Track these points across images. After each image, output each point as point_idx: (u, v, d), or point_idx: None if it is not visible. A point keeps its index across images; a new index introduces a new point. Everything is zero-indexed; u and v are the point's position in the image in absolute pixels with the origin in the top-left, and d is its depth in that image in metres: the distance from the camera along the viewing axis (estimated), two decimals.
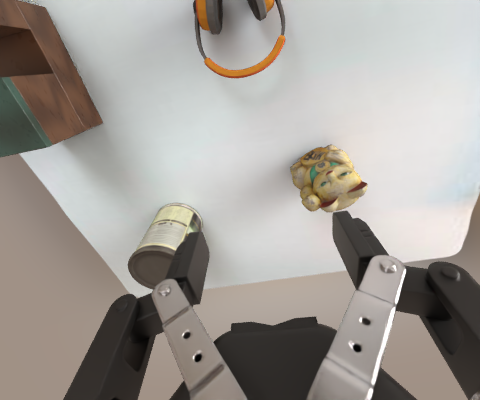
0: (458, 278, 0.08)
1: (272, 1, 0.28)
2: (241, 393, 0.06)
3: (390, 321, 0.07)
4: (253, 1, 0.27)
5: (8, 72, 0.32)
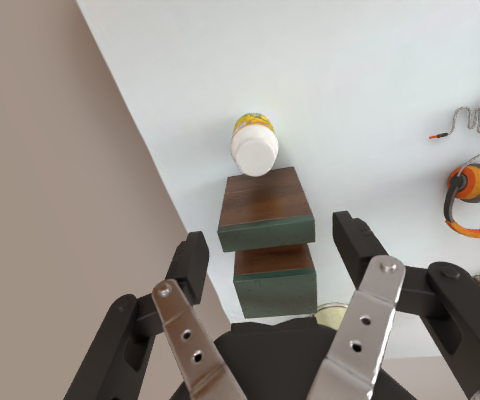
0: (458, 278, 0.08)
1: None
2: (241, 393, 0.06)
3: (390, 321, 0.07)
4: None
5: None
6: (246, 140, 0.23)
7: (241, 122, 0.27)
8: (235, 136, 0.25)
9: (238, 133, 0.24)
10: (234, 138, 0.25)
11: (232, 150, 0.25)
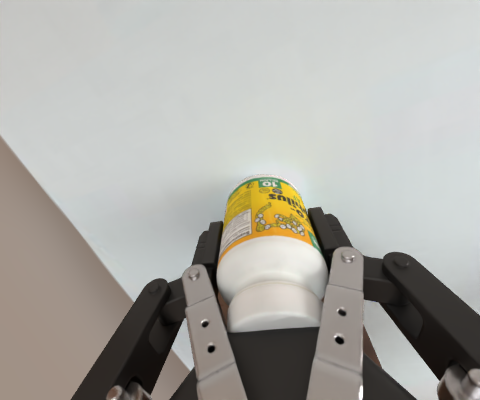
0: (408, 266, 0.09)
1: None
2: (241, 393, 0.06)
3: (362, 307, 0.07)
4: None
5: None
6: (255, 303, 0.08)
7: (241, 208, 0.12)
8: (226, 262, 0.10)
9: (233, 258, 0.10)
10: (224, 266, 0.10)
11: (220, 288, 0.11)
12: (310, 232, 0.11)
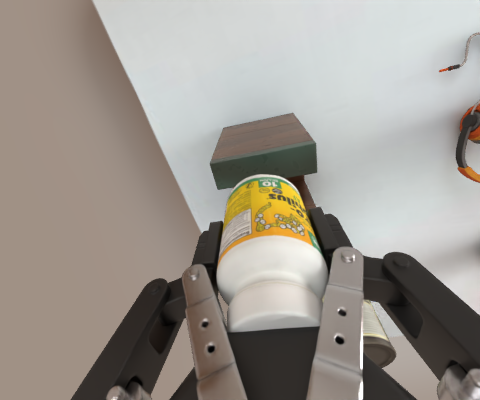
0: (408, 266, 0.09)
1: None
2: (241, 393, 0.06)
3: (362, 307, 0.07)
4: None
5: None
6: (255, 303, 0.08)
7: (241, 208, 0.12)
8: (226, 262, 0.10)
9: (233, 258, 0.10)
10: (224, 266, 0.10)
11: (220, 288, 0.11)
12: (310, 232, 0.11)
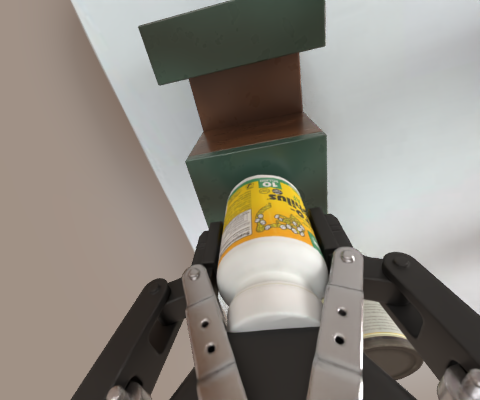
0: (408, 266, 0.09)
1: None
2: (241, 393, 0.06)
3: (362, 307, 0.07)
4: None
5: (234, 109, 0.22)
6: (255, 304, 0.08)
7: (241, 208, 0.12)
8: (226, 262, 0.10)
9: (233, 258, 0.10)
10: (224, 267, 0.10)
11: (220, 289, 0.11)
12: (310, 232, 0.11)
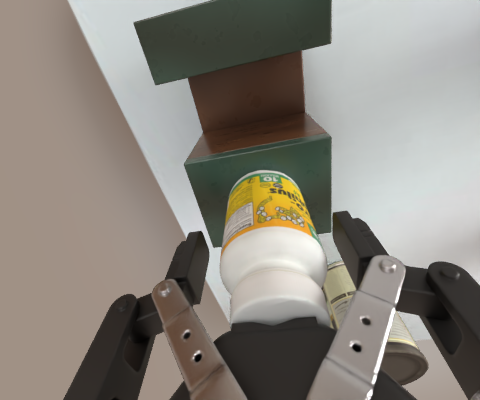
0: (458, 278, 0.08)
1: None
2: (241, 393, 0.06)
3: (390, 321, 0.07)
4: None
5: (235, 110, 0.21)
6: (257, 289, 0.09)
7: (243, 202, 0.13)
8: (229, 252, 0.11)
9: (236, 248, 0.10)
10: (227, 256, 0.11)
11: (223, 278, 0.11)
12: (309, 224, 0.12)
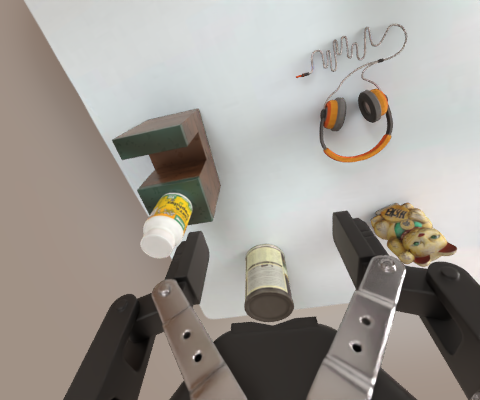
0: (458, 278, 0.08)
1: None
2: (241, 393, 0.06)
3: (390, 321, 0.07)
4: (373, 115, 0.36)
5: (170, 158, 0.41)
6: (147, 233, 0.28)
7: (156, 207, 0.32)
8: (144, 224, 0.30)
9: (146, 223, 0.30)
10: (144, 226, 0.30)
11: (144, 234, 0.31)
12: (177, 215, 0.31)
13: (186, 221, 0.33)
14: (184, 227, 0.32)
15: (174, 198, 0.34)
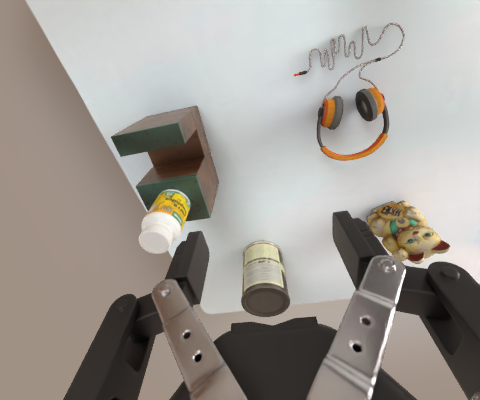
0: (458, 278, 0.08)
1: (381, 111, 0.37)
2: (241, 393, 0.06)
3: (390, 321, 0.07)
4: (370, 114, 0.37)
5: (168, 155, 0.42)
6: (145, 229, 0.29)
7: (154, 203, 0.33)
8: (143, 220, 0.31)
9: (144, 219, 0.30)
10: (142, 222, 0.31)
11: (142, 230, 0.31)
12: (175, 211, 0.32)
13: (184, 217, 0.33)
14: (182, 223, 0.32)
15: (172, 195, 0.34)
